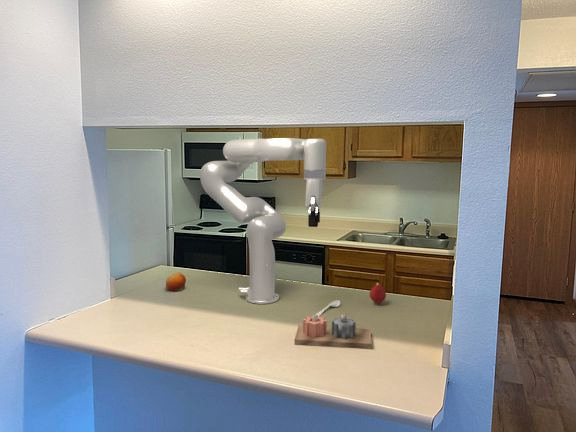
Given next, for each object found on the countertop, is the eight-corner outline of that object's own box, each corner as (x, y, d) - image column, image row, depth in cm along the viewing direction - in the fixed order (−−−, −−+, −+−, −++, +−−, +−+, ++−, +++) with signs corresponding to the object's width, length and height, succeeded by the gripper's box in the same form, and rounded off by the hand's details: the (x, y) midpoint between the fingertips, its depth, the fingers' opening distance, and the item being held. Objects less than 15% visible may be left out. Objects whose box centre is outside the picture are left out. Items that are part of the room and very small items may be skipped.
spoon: (343, 305, 166) (343, 301, 166) (314, 322, 149) (314, 317, 149) (333, 303, 168) (333, 299, 168) (303, 319, 151) (304, 315, 151)
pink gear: (302, 336, 132) (302, 323, 132) (304, 327, 139) (304, 315, 139) (325, 338, 131) (325, 324, 131) (326, 329, 138) (327, 316, 138)
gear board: (294, 344, 131) (294, 319, 130) (298, 329, 141) (298, 306, 140) (371, 348, 128) (372, 323, 127) (370, 333, 138) (370, 310, 137)
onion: (384, 301, 168) (385, 281, 167) (386, 307, 163) (387, 285, 162) (368, 301, 169) (369, 280, 168) (370, 306, 163) (370, 285, 162)
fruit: (188, 289, 179) (177, 272, 178) (171, 299, 180) (160, 282, 179) (192, 283, 187) (182, 267, 186) (176, 292, 188) (166, 276, 187)
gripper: (306, 174, 164) (305, 220, 166) (301, 176, 147) (300, 228, 149) (326, 174, 163) (326, 221, 165) (324, 176, 146) (323, 228, 148)
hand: (314, 224), depth 157 cm, fingers open, 9 cm apart
